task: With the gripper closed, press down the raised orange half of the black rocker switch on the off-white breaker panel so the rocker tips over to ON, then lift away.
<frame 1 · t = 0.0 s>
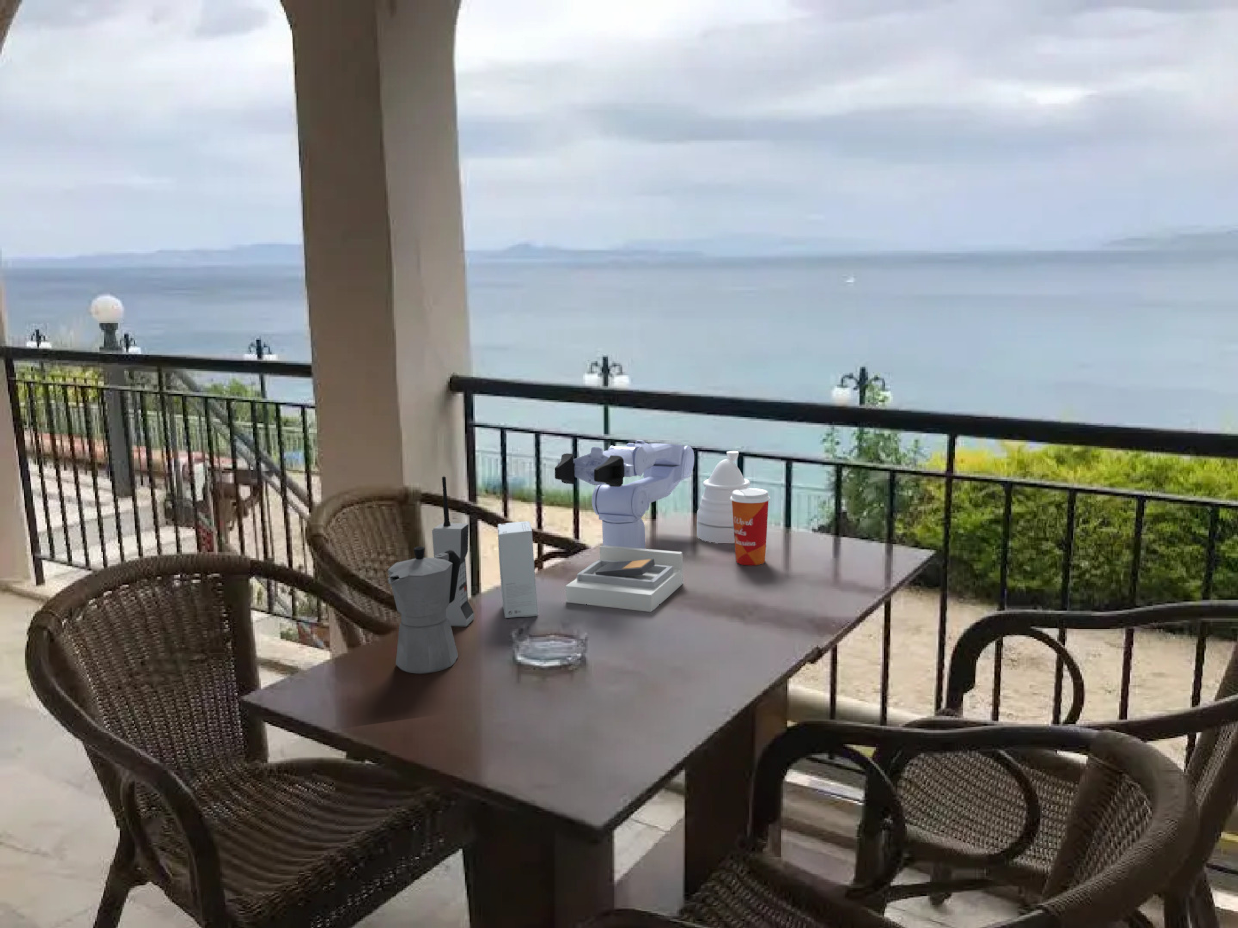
hand: (576, 474, 177), 22 cm above the table, tool horizontal, fingers open, 7 cm apart
paper cup: (750, 562, 196), on the table
rocker: (625, 568, 179), point 5 cm above the table, hinge at 10.0°
skincare box: (519, 611, 173), on the table
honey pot: (727, 536, 216), on the table
breaker panel: (626, 592, 180), on the table
vintage mobile phone: (456, 623, 168), on the table
coffeepot: (432, 660, 152), on the table
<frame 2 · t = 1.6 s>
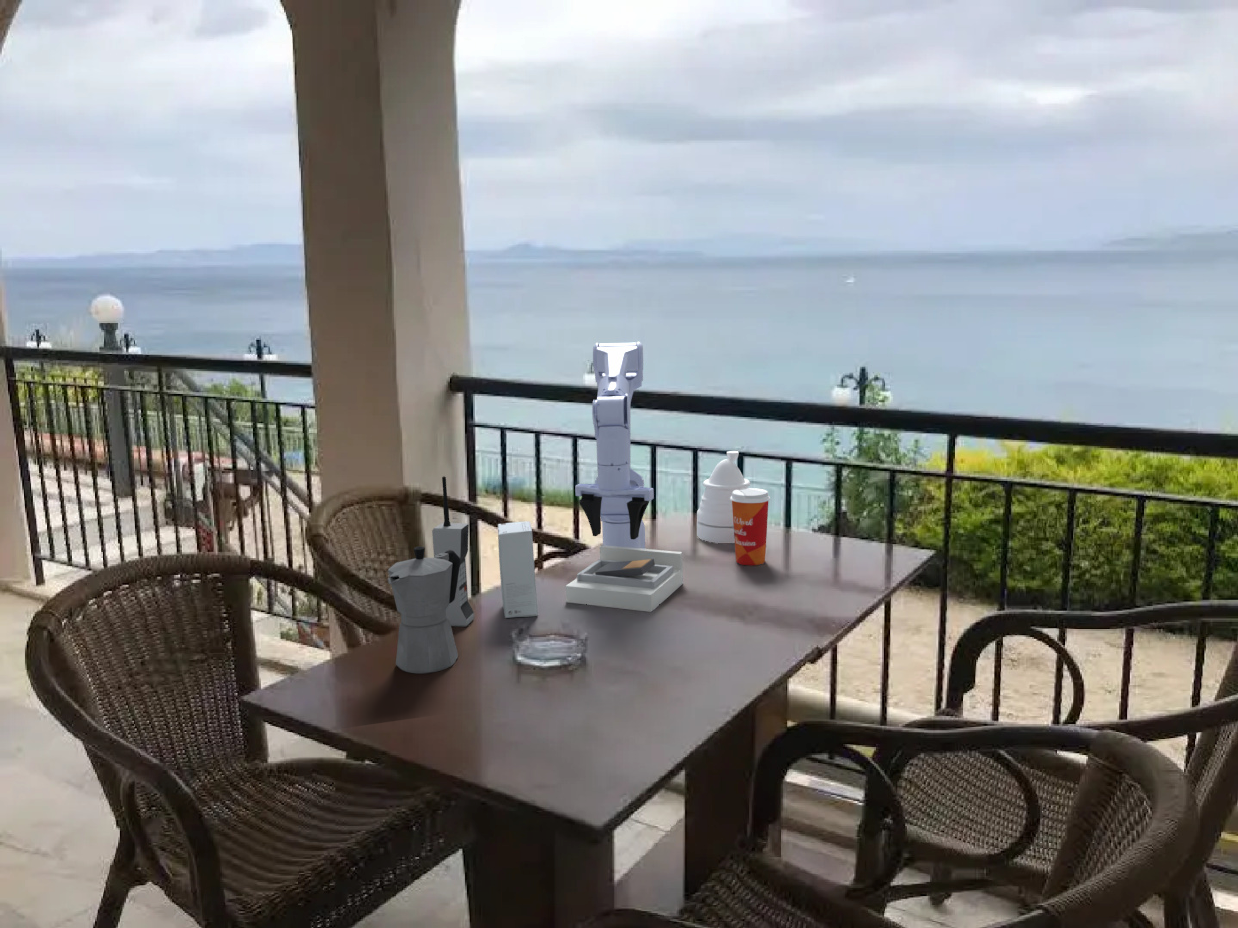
hand: (615, 536, 182), 9 cm above the table, tool pointing down, fingers open, 7 cm apart
nothing on the table moved.
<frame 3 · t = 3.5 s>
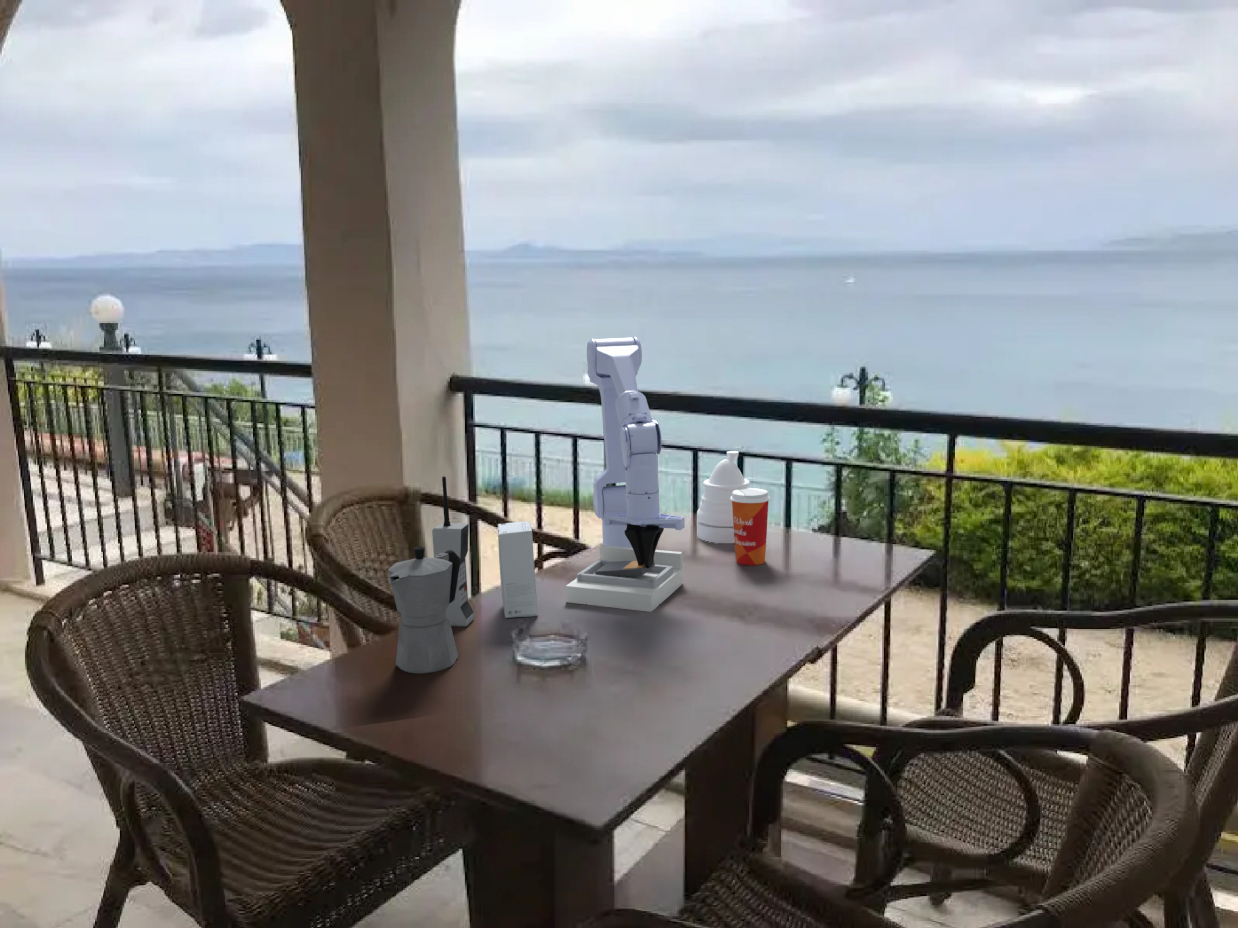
hand: (645, 566, 178), 5 cm above the table, tool pointing down, fingers closed, pressing on rocker
rocker: (625, 568, 179), point 5 cm above the table, hinge at 8.5°, touching gripper
everything else where it was.
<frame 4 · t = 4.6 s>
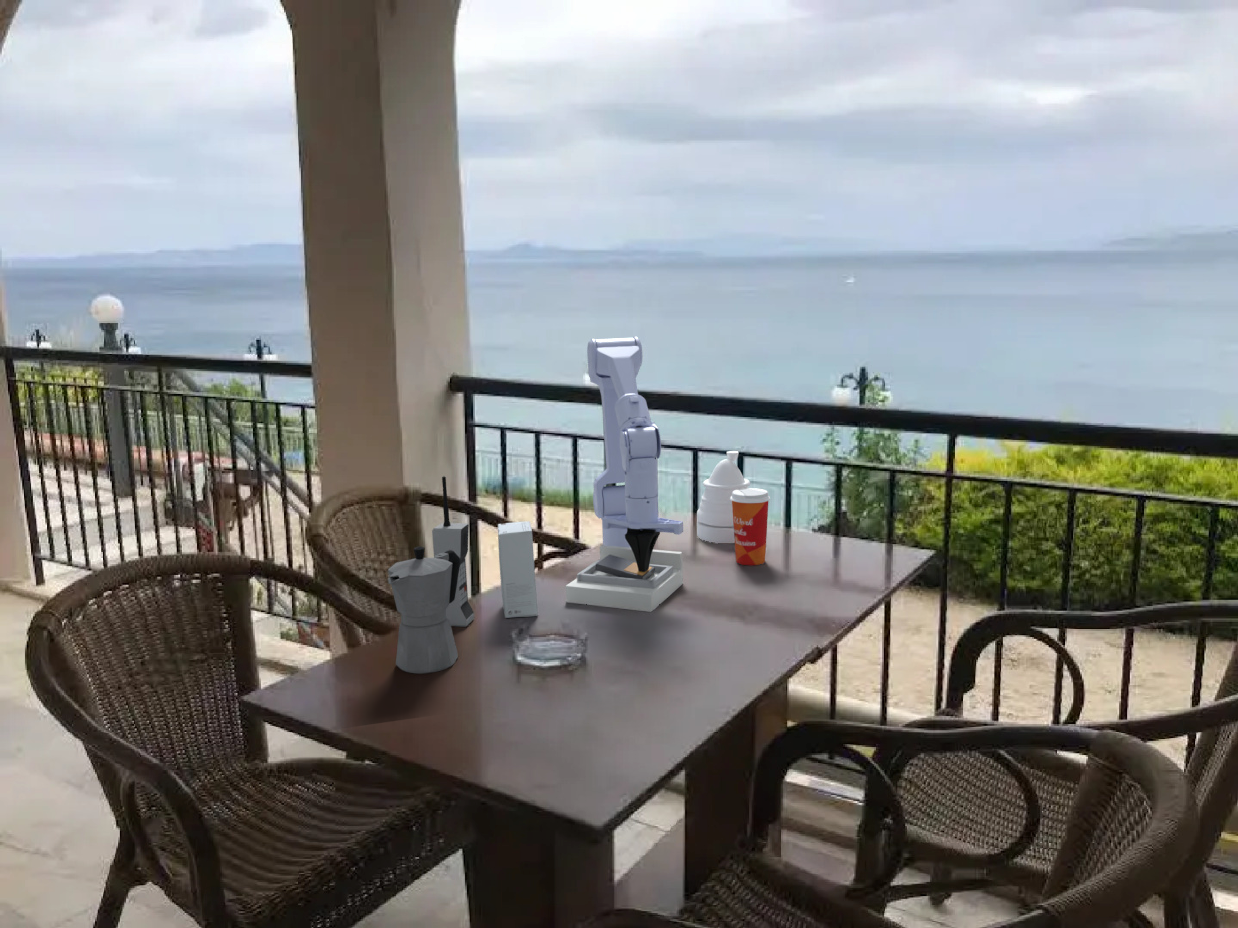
hand: (643, 570, 178), 5 cm above the table, tool pointing down, fingers closed, pressing on rocker
rocker: (625, 568, 179), point 5 cm above the table, hinge at -10.3°, touching gripper
everything else where it was.
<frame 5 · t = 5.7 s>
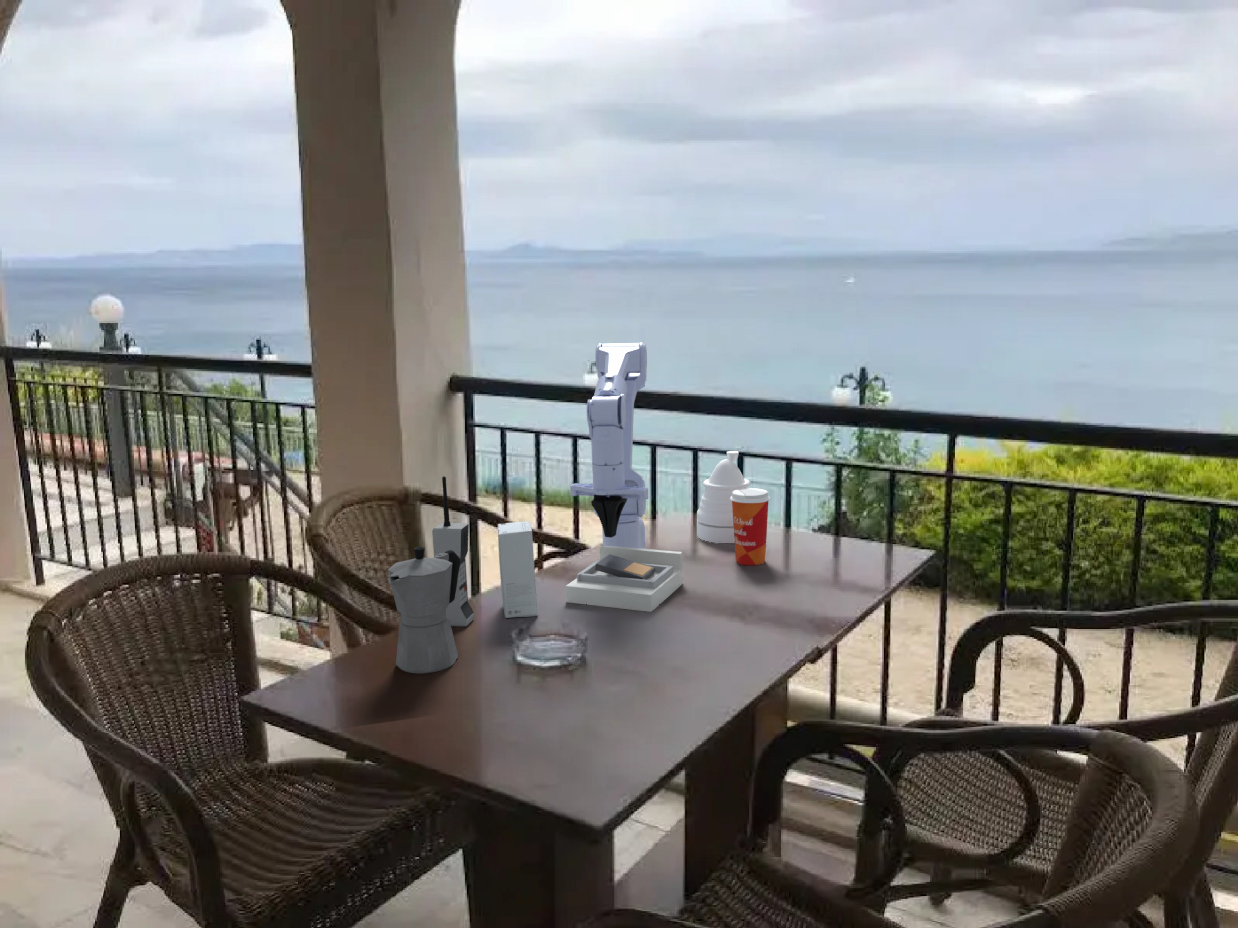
hand: (610, 536, 183), 9 cm above the table, tool pointing down, fingers closed
rocker: (625, 568, 179), point 5 cm above the table, hinge at -10.7°
everything else where it was.
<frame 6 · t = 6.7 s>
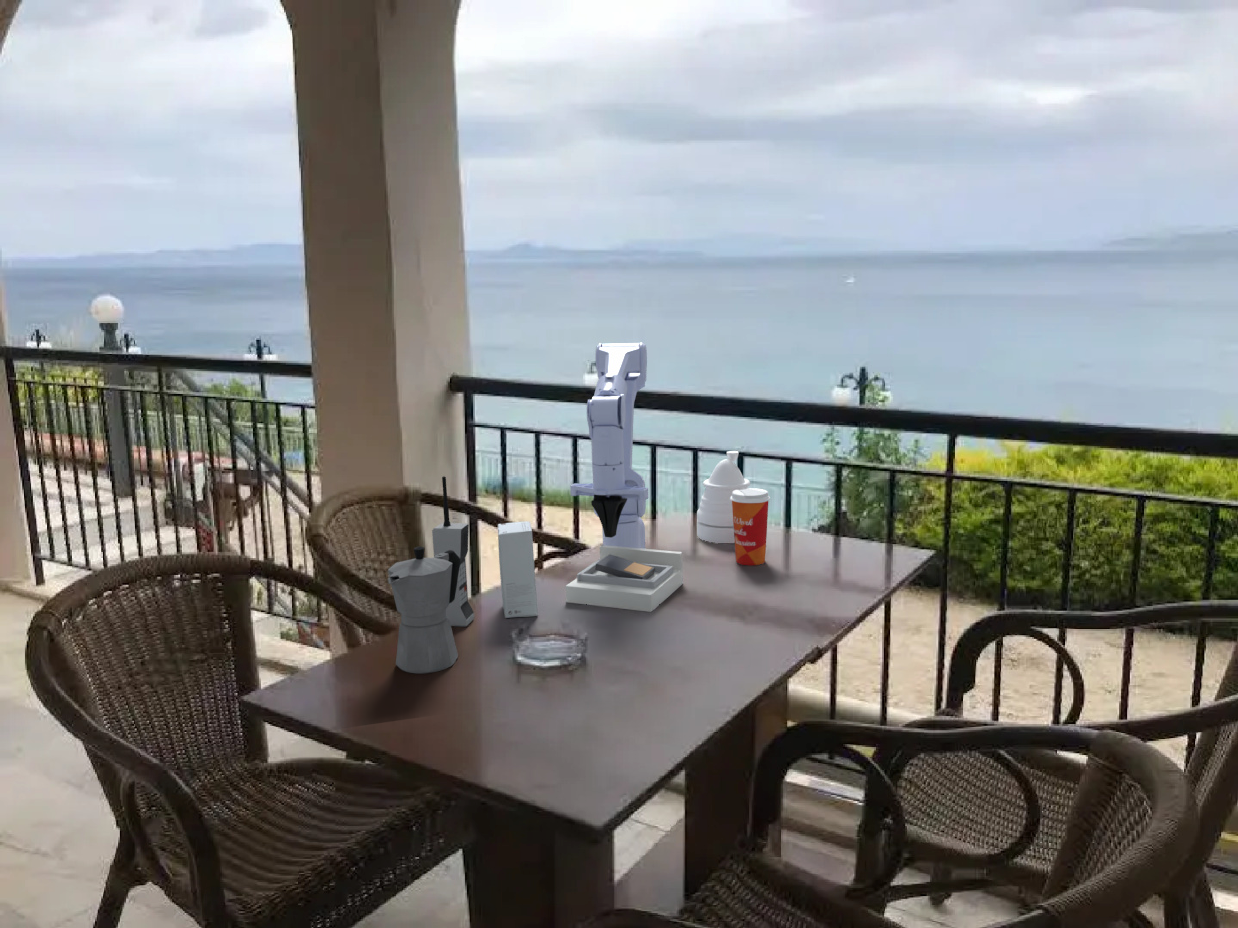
hand: (610, 536, 183), 9 cm above the table, tool pointing down, fingers closed
nothing on the table moved.
at the end: rocker at -11° (first picture: +10°) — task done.
